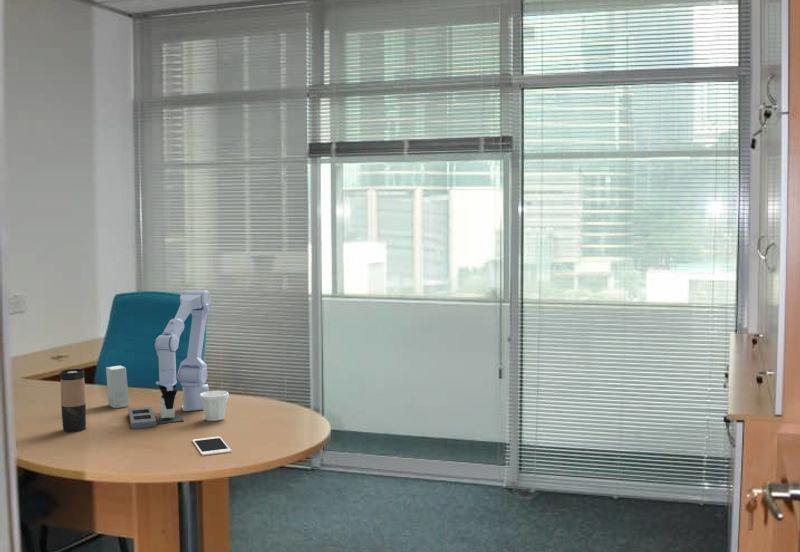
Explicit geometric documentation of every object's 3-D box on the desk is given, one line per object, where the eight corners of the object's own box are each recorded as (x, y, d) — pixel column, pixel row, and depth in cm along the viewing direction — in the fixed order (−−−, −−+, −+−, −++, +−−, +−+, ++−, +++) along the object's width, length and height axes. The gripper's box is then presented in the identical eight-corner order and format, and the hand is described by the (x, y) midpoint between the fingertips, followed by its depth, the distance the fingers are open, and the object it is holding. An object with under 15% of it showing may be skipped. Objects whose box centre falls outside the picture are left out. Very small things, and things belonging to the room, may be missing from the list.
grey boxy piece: (174, 414, 294) (174, 394, 294) (176, 417, 289) (176, 397, 289) (159, 415, 292) (159, 395, 292) (160, 418, 287) (160, 398, 287)
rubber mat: (180, 415, 297) (180, 414, 297) (183, 421, 288) (183, 420, 288) (154, 418, 294) (154, 417, 293) (156, 424, 285) (156, 422, 285)
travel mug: (91, 427, 281) (89, 369, 280) (75, 433, 274) (73, 373, 273) (73, 425, 284) (70, 368, 282) (57, 431, 277) (54, 372, 275)
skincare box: (129, 406, 311) (127, 367, 310) (112, 409, 308) (111, 369, 307) (123, 402, 318) (121, 364, 317) (106, 404, 315) (105, 366, 314)
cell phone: (202, 457, 247) (202, 454, 247) (191, 442, 263) (191, 439, 263) (231, 453, 250) (231, 450, 250) (219, 439, 267) (219, 436, 267)
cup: (222, 423, 285) (221, 397, 284) (195, 422, 287) (194, 396, 286) (233, 416, 294) (233, 391, 294) (207, 415, 296) (206, 390, 296)
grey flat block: (151, 412, 302) (151, 406, 302) (156, 426, 282) (156, 420, 282) (128, 414, 299) (128, 408, 299) (131, 429, 279) (131, 423, 279)
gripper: (154, 366, 295) (155, 403, 296) (157, 373, 281) (158, 412, 282) (174, 364, 297) (175, 402, 298) (178, 371, 284) (179, 410, 285)
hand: (168, 407), depth 291 cm, fingers closed on grey boxy piece, 5 cm apart
